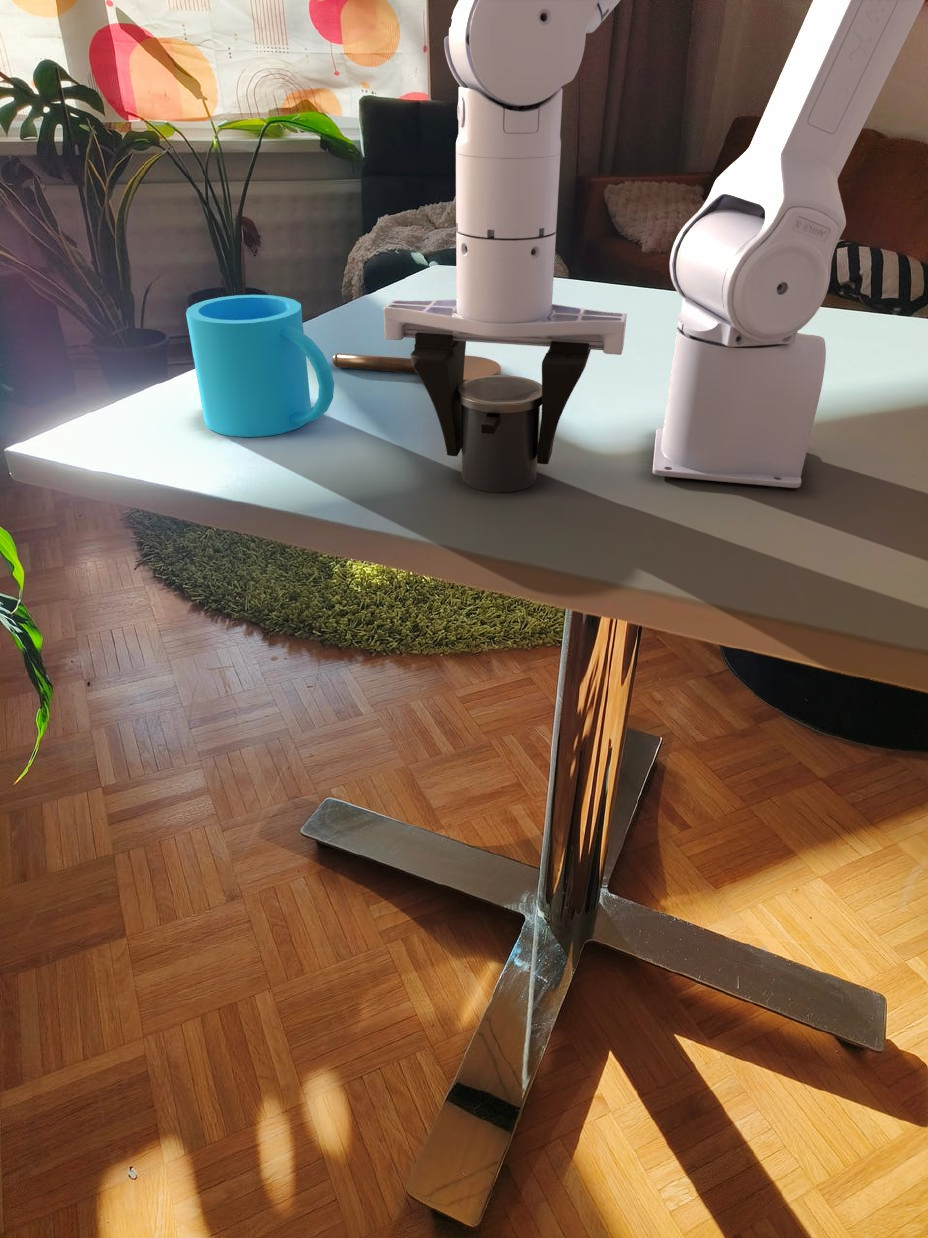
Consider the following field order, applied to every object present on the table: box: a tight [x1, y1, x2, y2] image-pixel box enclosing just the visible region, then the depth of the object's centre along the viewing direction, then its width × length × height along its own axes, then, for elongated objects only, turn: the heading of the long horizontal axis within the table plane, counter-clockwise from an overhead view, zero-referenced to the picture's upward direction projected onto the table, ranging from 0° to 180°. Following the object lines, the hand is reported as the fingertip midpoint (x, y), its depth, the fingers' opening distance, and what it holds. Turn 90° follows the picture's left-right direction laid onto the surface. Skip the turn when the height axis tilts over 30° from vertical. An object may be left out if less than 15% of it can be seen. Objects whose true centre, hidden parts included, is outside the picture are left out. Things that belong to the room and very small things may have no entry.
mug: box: [185, 294, 335, 438], centre depth 63 cm, size 12×8×8 cm
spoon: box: [332, 352, 502, 382], centre depth 75 cm, size 15×7×1 cm, turn 78°
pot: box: [457, 374, 542, 494], centre depth 55 cm, size 6×7×6 cm
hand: (500, 454), depth 57 cm, fingers closed on pot, 5 cm apart
